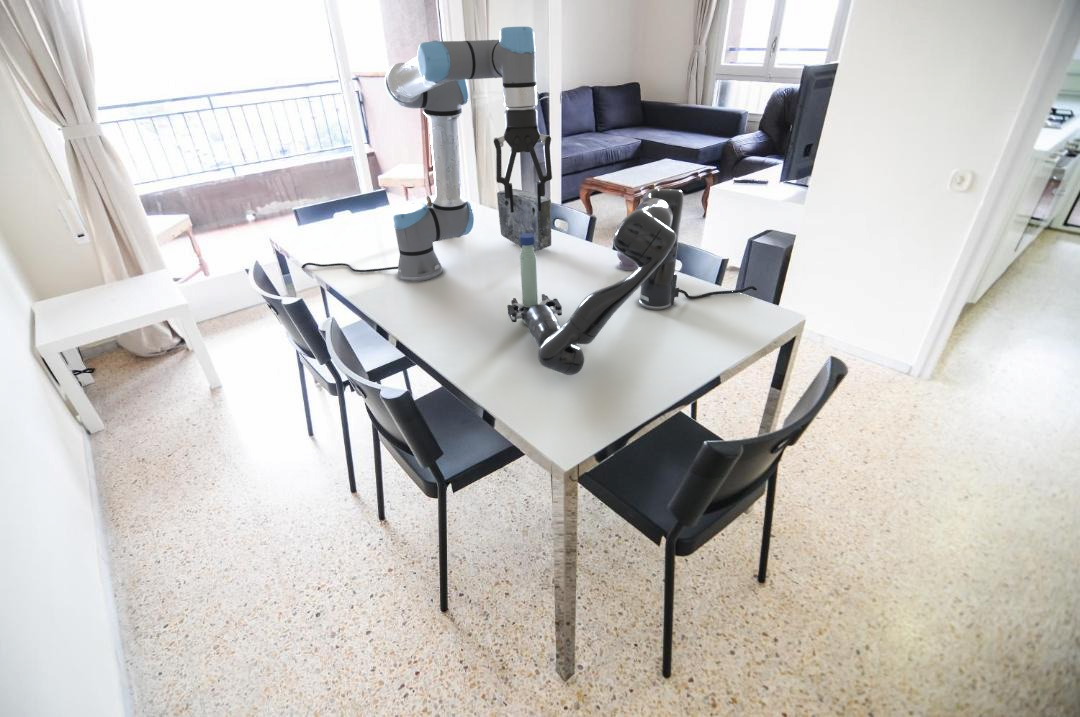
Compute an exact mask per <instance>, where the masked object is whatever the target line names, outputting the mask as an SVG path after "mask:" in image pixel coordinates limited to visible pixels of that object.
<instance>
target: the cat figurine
mask: <svg viewBox="0 0 1080 717" xmlns="http://www.w3.org/2000/svg"><path fill="white" fill-rule="evenodd" d="M616 256H617V258H618V260H619V262H618V268H619V269H620V270H623V271H634V270H635V269H636V268H637V267H638V265H636V263H634V262H632V261H631V260H630V259H628V258H627V257H625V256H624V255H622V254H621V253H620V252H619V251H618V250H617V253H616Z"/></svg>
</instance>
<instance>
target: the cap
mask: <svg viewBox="0 0 1080 717" xmlns="http://www.w3.org/2000/svg"><path fill="white" fill-rule="evenodd" d="M519 238H520V244H521V245H524V246H529V245H533V244H534V243H535V237H534V234H530V233H525V234H521V235H520V237H519Z"/></svg>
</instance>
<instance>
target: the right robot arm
mask: <svg viewBox="0 0 1080 717" xmlns="http://www.w3.org/2000/svg"><path fill="white" fill-rule="evenodd" d="M684 202H685V196H684V192H683V191H682V190H681V189H674V188H673V189H670V188H667V189H666V188H652V189H648V190H647V191H646V192H645V194H644V195H643V197H642V200H641V202H640V203H639V204H638V205H637V206H636V208H635V209H633V210H632V211H631V212H630V213H629V214H627V215H626V216H625V217H624V218H623V220H622V221H621V222H620V223H619V225H618V227H617V228H616V230H615V232H614V235H613V239H612V243H613V246H614V249H615V250H616V251H617V252H618V251H619V252H620V253H621V254H622V255H624V256H625V257H627V258H628V259H630V260H631V261H632V262H634V263H636V265H637V268H636V269H634V270H632V272H631V273H630V274H629V275H628V276H626V277H624V278H623V279H621V280H619V281H617V282H615V283H613V284H610V285H607V286H605V287H602V288H600V289H598V290H596V291H593V292H592V293H590V294H589V295H587V296H586V297H584V299H583V300H582V301H580V303H579V305H578V306H577V308H576V309H575V310H574V312H573V313H572V315H571V316H570V317H569V319H567V321H566V322H565V323H564V324H562V325H561V324H560V322H559V320H558V318H557V317H556V315H557V316H558V317H560V316H563V305H561V303H560V301H559V300H558V298H552V299H551V298H549V296H548V295H546V294H545V293H542V294H541V303H538V304H537V305H530V306H529V305H526V304H523V303H519V301H518V300H517V298H516V297H513V298H512V299H511V300H510V301H511V304H507V306H506V307H507V316H508V317H509V319H510V320H511V322H512V323H517V322H518V321H517V320H519V319H522V320H523V321H524V320H525V322H526V324H527V325H526V324H525V325H526V326H527V328H528V330H529V333H530V334H531V336H532V337H533V339H534V340H535V342H536V343H537V345H538V347H539V349H538V353H537V358H538V362H539V363H540V365H541V366H542V367H544V368H547V369H549V370H552V371H555V372H557V373H560V374H563V375H566V376H574V375H576V374H578V373H580V372H581V370H582V369H583V367H584V365H585V353H584V351H583V349H582V347H581V346H580V345H589V344H591V343H592V342H593V341H594V340H595V339H596V337H597V336H598V335H599V334H600V332H601V331H602V329H603V328H604V327H605V326H606V324H607V323H608V322H609V320H610V319H611V318H612V317H613V316H614V314H615V313H616V312H617V311H618V310H619V309H620V308H621V307H622V305H624V304H625V303H626V302H627V301H628V300H629V298H631V296H632V295H633V294H635V293H636V291H637V290H638V289H639V288H640V293H639V301H638V302H639V305H640V306H641V307H643V308H645V309H648V310H653V311H660V310H666V309H669V308H670V307H671V306H675V299H676V298H679V293H681V294H683V295H684V296H685V298H687V299H689V300H696V299H697V300H698V299H702V298H706V297H710V296H715V295H716V296H717V295H728V294H731V295H732V294H740V293H744V292H747V291H749V290H753V291H758V289H757V287H756V286H754V285H749V286H746V287H744V288H741V289H734V290H733V289H732V290H731V289H730V290H717V291H710V292H705V293H703V294H699V295H689V293H688V292H687V291H685V290H684V289H682V288H680V287H679V286H677V281H678V274H676V264H677V257H678V256H677V254H678V247H679V237H680V236H679V234H680V228H681V223H682V222H681V221H682V216H683V209H684ZM732 291H733V292H732ZM524 308H525V309H524Z"/></svg>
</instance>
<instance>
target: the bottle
mask: <svg viewBox="0 0 1080 717" xmlns="http://www.w3.org/2000/svg"><path fill="white" fill-rule="evenodd" d="M536 256H537V255H536V252H535V250H533V247H532V245H529V246H524V245H522V247H521V251H520V256H519V257H520V258H519V264H520V265H519V266H520V280H521V281H520V282H521V298H522V304H526V305H529V306H530V305H537V304H539V298H538V297H539V296H538V274H537V272H538V271H537V257H536ZM524 309H525V308H524ZM523 324H524V325H526V326H527V324H526V322H525V320H523Z"/></svg>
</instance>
